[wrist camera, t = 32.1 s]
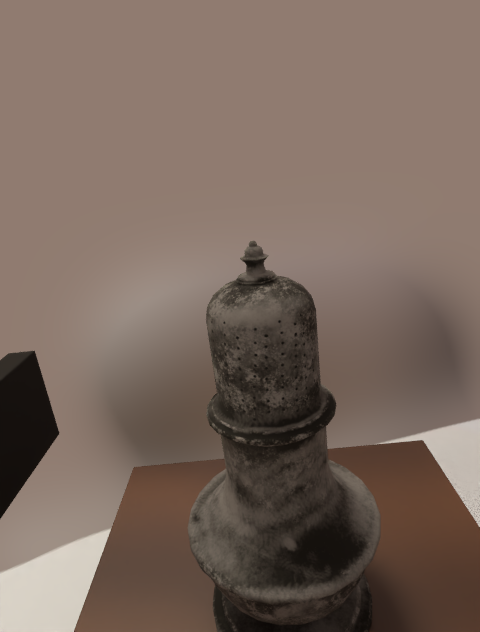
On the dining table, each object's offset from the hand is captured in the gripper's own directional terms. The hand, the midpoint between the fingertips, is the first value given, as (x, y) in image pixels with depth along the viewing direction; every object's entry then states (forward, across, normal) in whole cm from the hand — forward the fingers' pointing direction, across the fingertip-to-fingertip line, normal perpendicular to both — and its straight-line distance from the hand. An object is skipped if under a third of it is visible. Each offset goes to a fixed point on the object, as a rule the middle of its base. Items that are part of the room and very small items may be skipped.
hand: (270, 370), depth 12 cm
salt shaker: (0, 0, -8) cm, 9 cm away
